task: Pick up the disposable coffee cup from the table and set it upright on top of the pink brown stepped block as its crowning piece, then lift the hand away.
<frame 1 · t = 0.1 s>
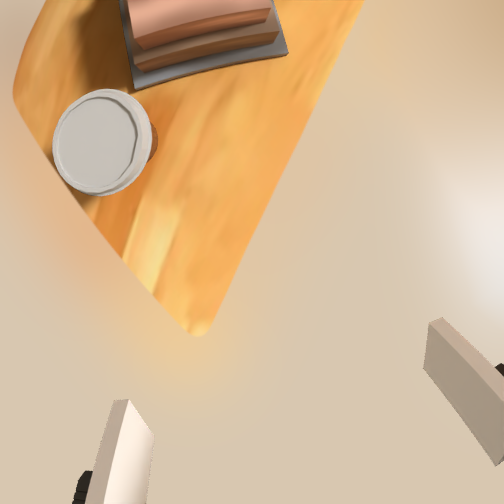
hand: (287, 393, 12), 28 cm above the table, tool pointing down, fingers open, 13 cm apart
pink brown stepped block: (196, 7, 28), on the table
disposable coffee cup: (133, 141, 34), on the table
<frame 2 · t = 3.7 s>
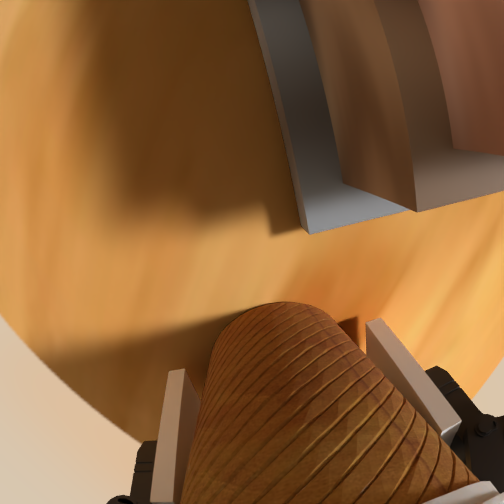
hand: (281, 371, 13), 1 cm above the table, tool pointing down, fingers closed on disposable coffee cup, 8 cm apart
pink brown stepped block: (437, 6, 9), on the table
disposable coffee cup: (278, 357, 14), on the table, touching gripper
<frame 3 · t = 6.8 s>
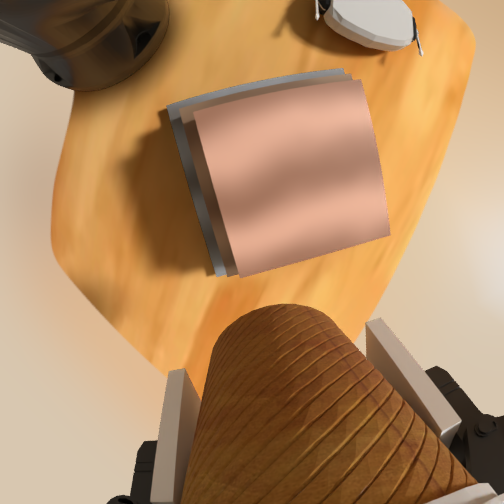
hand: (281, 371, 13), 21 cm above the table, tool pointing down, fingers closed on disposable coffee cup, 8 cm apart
pink brown stepped block: (278, 168, 31), on the table
robot toy: (359, 1, 25), on the table
disposable coffee cup: (278, 358, 14), point 20 cm above the table, touching gripper
when the fingers open (12 cm above the table, at t = 10.0 s): disposable coffee cup drops 1 cm, resting on pink brown stepped block.
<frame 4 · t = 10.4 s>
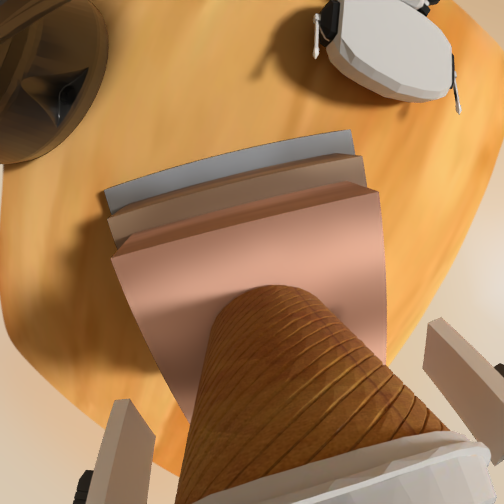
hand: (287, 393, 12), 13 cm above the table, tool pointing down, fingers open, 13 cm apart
pink brown stepped block: (254, 268, 24), on the table
robot toy: (378, 22, 19), on the table
disposable coffee cup: (271, 338, 15), point 10 cm above the table, touching pink brown stepped block
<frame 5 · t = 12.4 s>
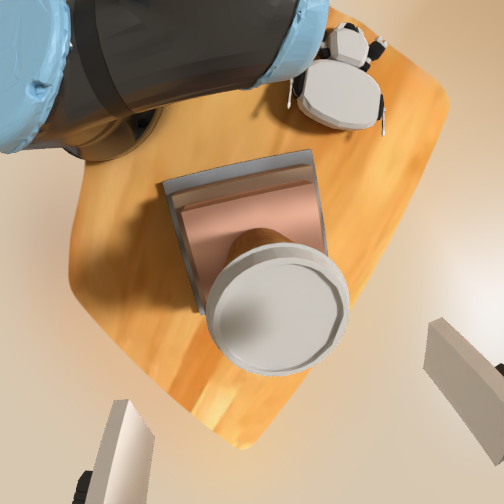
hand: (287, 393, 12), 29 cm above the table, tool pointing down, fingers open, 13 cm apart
pink brown stepped block: (252, 233, 39), on the table
robot toy: (335, 76, 34), on the table
disposable coffee cup: (260, 258, 30), point 10 cm above the table, touching pink brown stepped block
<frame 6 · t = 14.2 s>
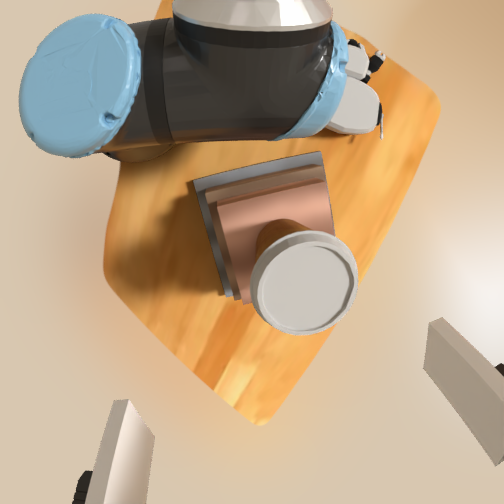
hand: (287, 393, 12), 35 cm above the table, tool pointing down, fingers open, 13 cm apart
pink brown stepped block: (270, 224, 45), on the table
robot toy: (340, 86, 40), on the table
disposable coffee cup: (282, 244, 36), point 10 cm above the table, touching pink brown stepped block
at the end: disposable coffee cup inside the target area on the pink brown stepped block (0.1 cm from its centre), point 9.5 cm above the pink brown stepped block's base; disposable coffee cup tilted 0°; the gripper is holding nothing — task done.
